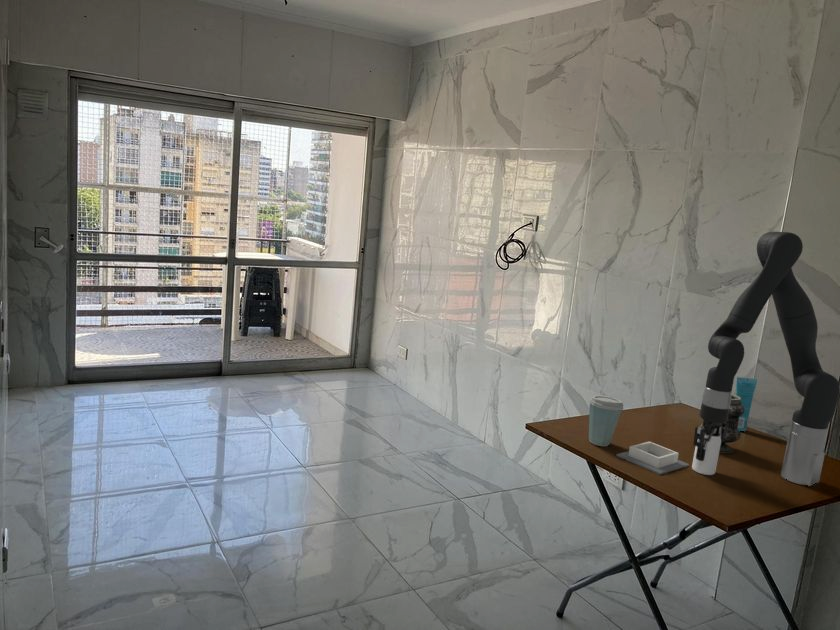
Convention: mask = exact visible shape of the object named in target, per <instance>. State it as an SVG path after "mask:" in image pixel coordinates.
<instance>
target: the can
mask: <svg viewBox="0 0 840 630" xmlns="http://www.w3.org/2000/svg"><path fill="white" fill-rule="evenodd" d="M720 436H721V434H719V435H718V434H716V435H713V436H712V438H711V440H710V442H708V443H707V447H706V451H705V457H704V460H703V461H700V460H697V459H696V453H697V448H698V447H697V446H695V447H694V448H695V449H694V453H693V460H692V463H691V464H692V465H691V469H692V470H693V472H695V473H697V474H699V475H705V476H714V475H715V474H716V472H717V466H718V460H719V455H720V453H719V451H720V445H721V437H720ZM708 437H709V435H706V434H705V437H704V438H708ZM698 440H699V439H698ZM697 442H698V441H697ZM704 443H705V440H704Z"/></svg>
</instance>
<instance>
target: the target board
mask: <svg viewBox="0 0 840 630" xmlns="http://www.w3.org/2000/svg"><path fill="white" fill-rule="evenodd" d="M628 449H629V450H627V451H623V452H620V453H616V457H618V458H620V459H622V460H624V459H625V460H624V461H627V462H630V463H632V464H634V465H637V466H639V467H641V468H643V469H645V470H648V471H650V472H653V473H654V474H657V475H660V476H661V475H665V474H667V473H670V472H673V471H677V470H680V469H683V468H687V467H689V466H690V465H689V463H687V462H685V461H684V460H680V459H679V455H680V454H679V452H677V451H674V450H672V449H669V448H667V447H665V446H662V445H660V444H657V443H654V442H653V441H645V442H642V443H638V444H634V445H630V446H629V448H628Z"/></svg>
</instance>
